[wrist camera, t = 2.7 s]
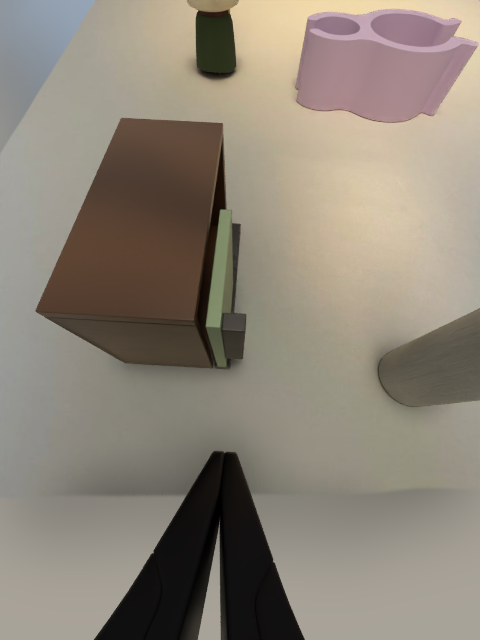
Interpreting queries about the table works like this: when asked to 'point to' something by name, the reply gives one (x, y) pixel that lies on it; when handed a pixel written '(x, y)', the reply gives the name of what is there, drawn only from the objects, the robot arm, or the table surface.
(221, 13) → the character mug
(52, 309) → the cupboard
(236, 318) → the sliding door
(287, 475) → the table surface
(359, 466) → the table surface
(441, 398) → the grey hollow tube
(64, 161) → the table surface
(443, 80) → the clip
